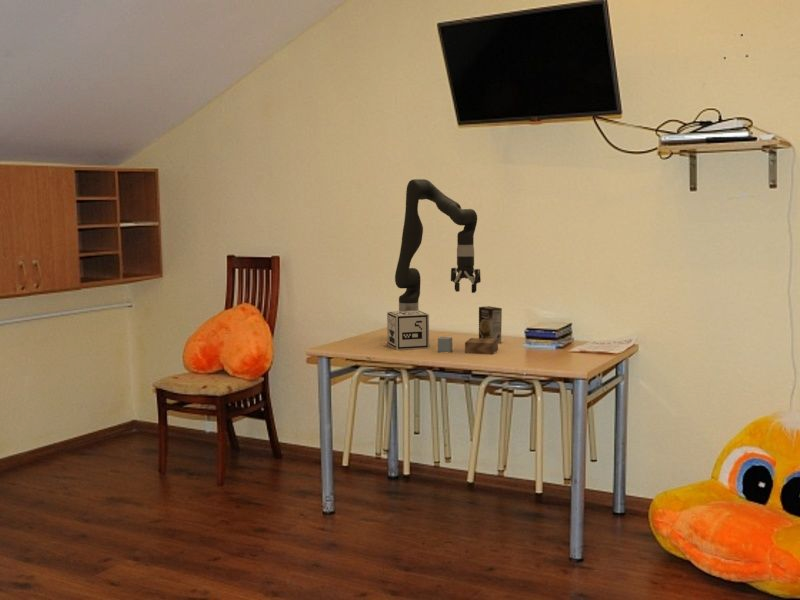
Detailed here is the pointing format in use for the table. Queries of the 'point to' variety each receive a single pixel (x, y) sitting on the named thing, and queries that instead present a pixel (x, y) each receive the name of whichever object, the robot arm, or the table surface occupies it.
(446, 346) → the slate block
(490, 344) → the walnut block
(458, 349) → the table surface
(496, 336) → the coffee box
